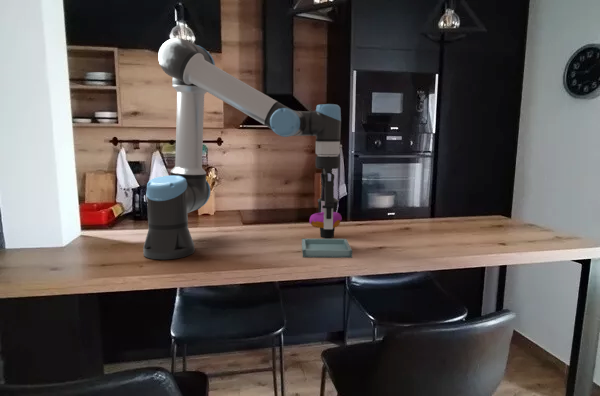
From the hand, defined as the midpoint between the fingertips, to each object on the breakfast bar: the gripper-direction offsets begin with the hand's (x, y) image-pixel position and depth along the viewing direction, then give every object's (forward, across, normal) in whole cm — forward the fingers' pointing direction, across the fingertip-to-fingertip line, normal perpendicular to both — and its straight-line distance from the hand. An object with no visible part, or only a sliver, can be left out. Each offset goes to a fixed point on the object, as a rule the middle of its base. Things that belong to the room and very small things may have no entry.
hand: (326, 224), depth 133 cm
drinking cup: (+9, +18, -2) cm, 20 cm away
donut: (+1, 0, 0) cm, 1 cm away
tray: (+9, 0, 0) cm, 9 cm away
